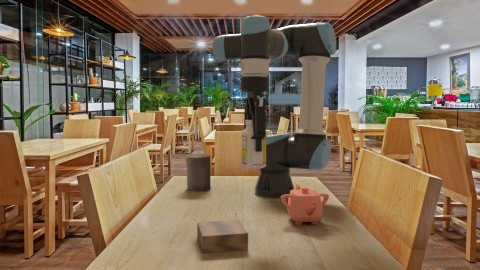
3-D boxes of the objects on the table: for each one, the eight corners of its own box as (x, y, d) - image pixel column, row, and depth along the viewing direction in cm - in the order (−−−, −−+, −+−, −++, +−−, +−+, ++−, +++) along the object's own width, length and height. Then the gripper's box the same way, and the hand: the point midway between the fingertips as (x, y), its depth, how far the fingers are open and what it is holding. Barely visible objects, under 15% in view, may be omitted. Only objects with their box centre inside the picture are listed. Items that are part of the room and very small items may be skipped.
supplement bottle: (269, 166, 109) (270, 119, 108) (260, 170, 103) (261, 120, 102) (247, 164, 112) (247, 119, 111) (237, 168, 106) (237, 120, 105)
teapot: (335, 221, 118) (336, 188, 117) (313, 231, 109) (314, 195, 109) (296, 212, 128) (297, 181, 127) (273, 220, 119) (273, 187, 118)
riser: (238, 234, 106) (238, 219, 106) (248, 249, 96) (248, 233, 95) (197, 237, 104) (197, 222, 104) (202, 252, 93) (202, 236, 93)
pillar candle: (215, 188, 163) (215, 151, 162) (200, 192, 155) (200, 154, 154) (196, 185, 168) (196, 150, 167) (181, 189, 160) (181, 152, 159)
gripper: (233, 78, 114) (232, 157, 116) (250, 73, 95) (249, 167, 97) (258, 78, 116) (257, 156, 118) (279, 74, 97) (278, 167, 99)
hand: (253, 161), depth 107 cm, fingers closed on supplement bottle, 7 cm apart
